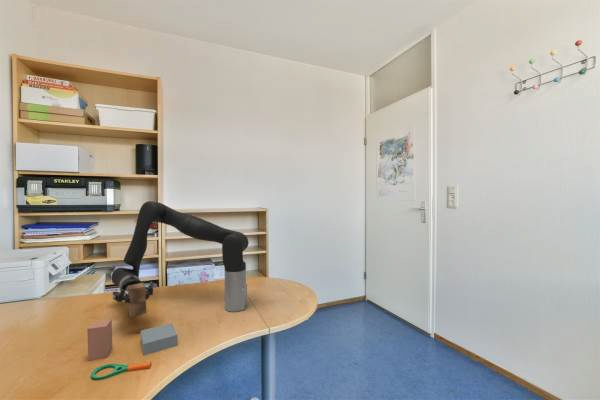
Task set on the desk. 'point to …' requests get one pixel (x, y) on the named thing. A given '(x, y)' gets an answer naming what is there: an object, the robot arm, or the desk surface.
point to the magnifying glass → (118, 369)
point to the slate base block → (158, 338)
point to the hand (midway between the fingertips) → (138, 298)
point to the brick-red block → (99, 339)
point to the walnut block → (137, 299)
